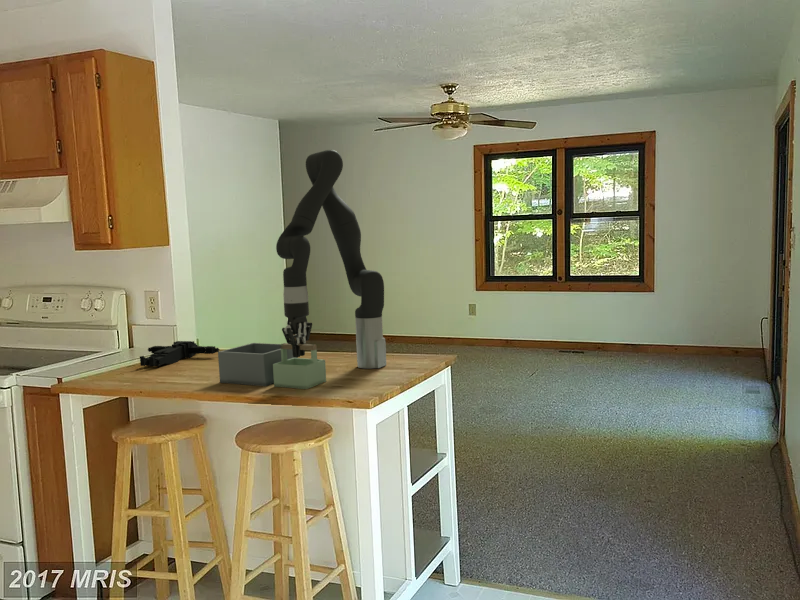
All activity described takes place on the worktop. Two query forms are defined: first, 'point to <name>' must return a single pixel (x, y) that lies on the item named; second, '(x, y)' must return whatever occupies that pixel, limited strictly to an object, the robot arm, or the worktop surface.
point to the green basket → (299, 369)
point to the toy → (174, 353)
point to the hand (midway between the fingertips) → (299, 356)
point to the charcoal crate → (250, 363)
